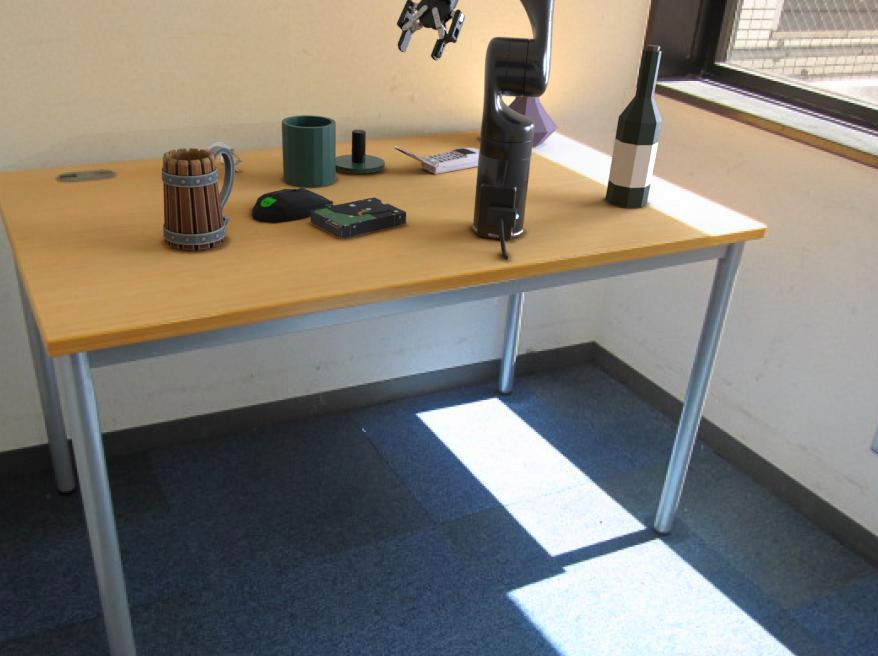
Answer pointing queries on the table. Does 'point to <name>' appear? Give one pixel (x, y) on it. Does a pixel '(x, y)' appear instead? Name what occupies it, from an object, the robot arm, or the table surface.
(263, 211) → the computer mouse
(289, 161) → the cylindrical cup
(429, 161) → the mobile phone
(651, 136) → the wine bottle
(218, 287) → the table surface
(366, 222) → the disk drive
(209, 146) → the origami figure
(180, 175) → the mug
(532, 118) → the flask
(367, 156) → the green pot lid
